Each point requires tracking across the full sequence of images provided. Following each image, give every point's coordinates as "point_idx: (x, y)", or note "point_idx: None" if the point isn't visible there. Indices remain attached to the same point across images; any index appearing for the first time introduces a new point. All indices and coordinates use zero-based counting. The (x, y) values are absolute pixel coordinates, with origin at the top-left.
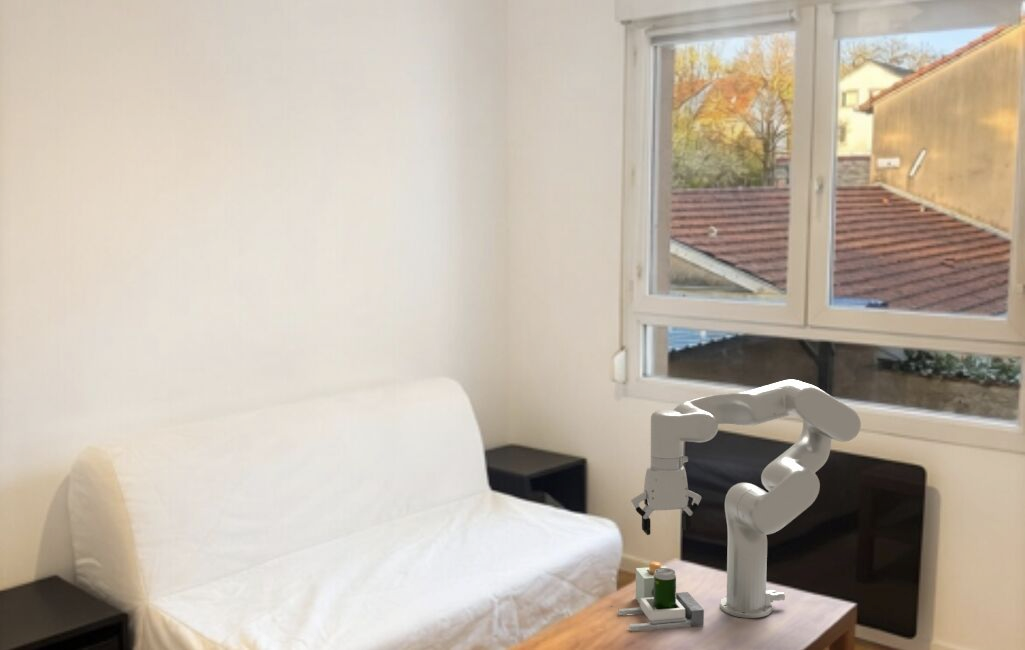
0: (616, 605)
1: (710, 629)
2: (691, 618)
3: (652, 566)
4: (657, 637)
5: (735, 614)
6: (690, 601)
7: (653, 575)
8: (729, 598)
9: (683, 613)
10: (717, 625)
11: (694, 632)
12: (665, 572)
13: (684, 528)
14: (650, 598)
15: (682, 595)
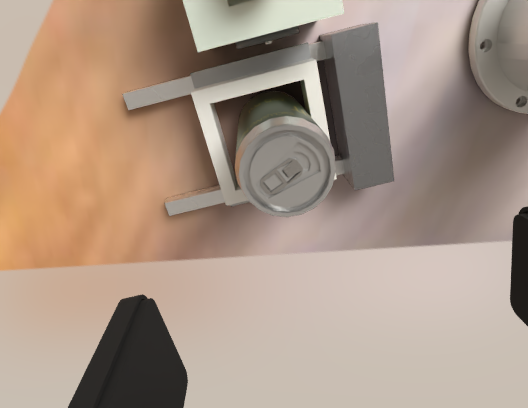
0: (112, 15)
1: (389, 184)
2: (347, 178)
3: None
4: (242, 236)
5: (493, 101)
6: (367, 116)
7: (242, 9)
8: (516, 52)
9: None
10: (416, 159)
11: (342, 204)
12: (289, 177)
13: (524, 288)
14: (228, 94)
15: (350, 60)
